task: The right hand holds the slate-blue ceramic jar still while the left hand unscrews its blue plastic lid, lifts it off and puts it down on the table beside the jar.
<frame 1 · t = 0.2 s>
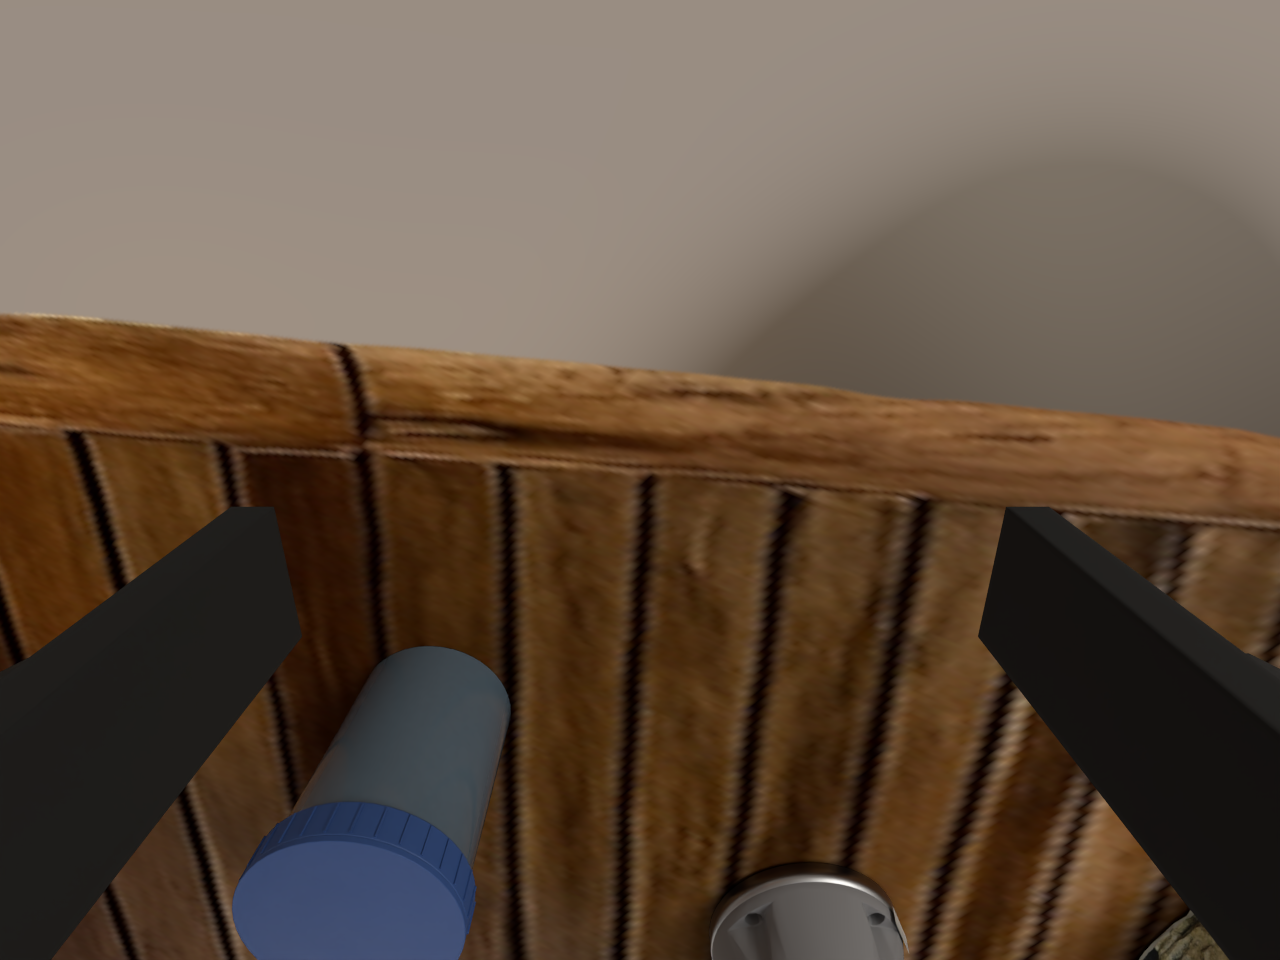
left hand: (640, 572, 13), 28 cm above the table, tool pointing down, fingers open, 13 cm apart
fossil: (1202, 933, 57), on the table
jar: (437, 707, 49), on the table
lid: (352, 918, 34), point 15 cm above the table, screwed on, not yet turned
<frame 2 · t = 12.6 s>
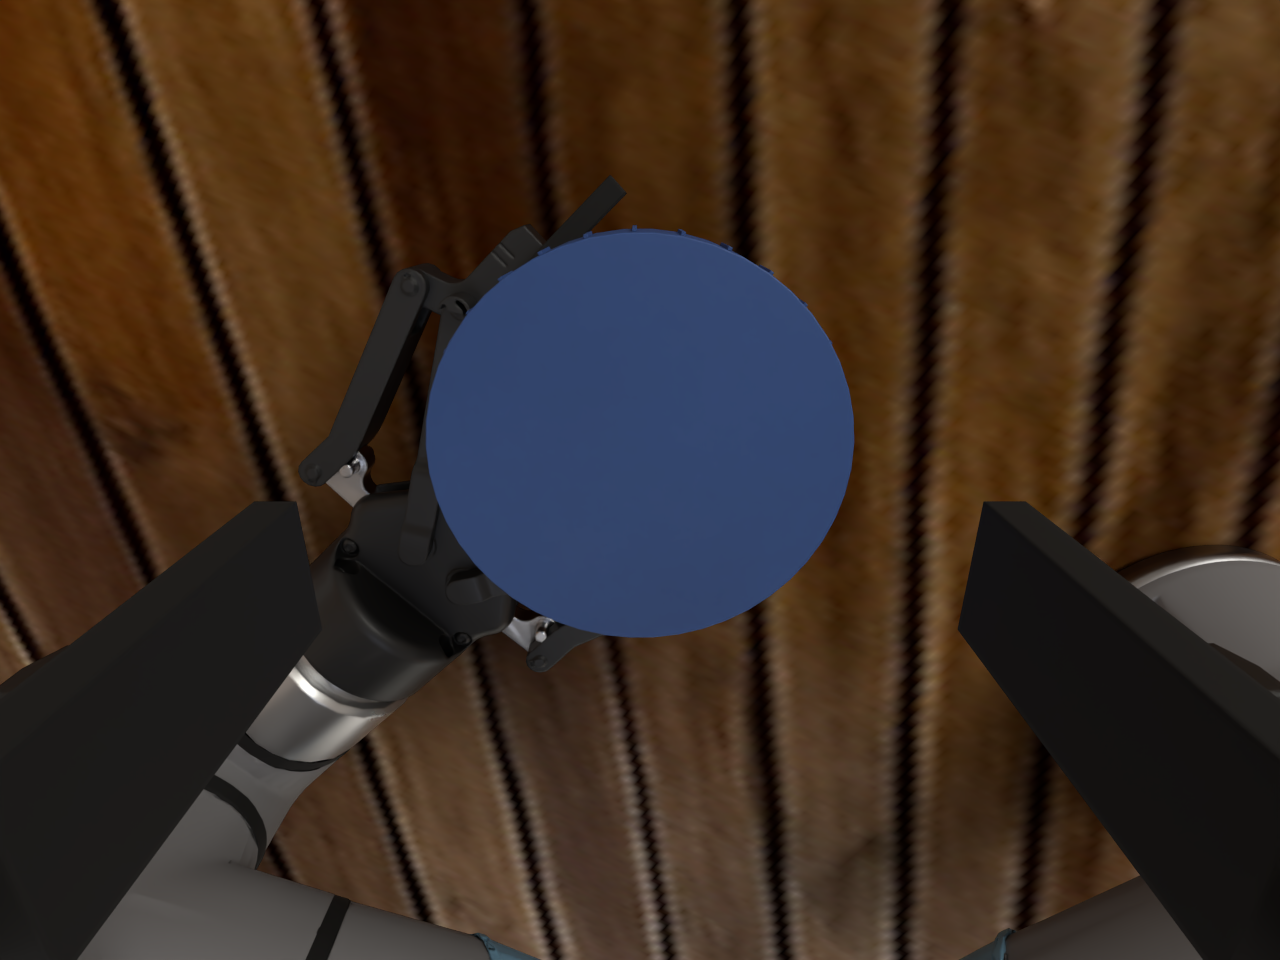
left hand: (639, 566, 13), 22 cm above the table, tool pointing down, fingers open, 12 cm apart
right hand: (719, 299, 26), fingers closed on jar, 10 cm apart
lid: (639, 454, 19), point 15 cm above the table, screwed on, not yet turned
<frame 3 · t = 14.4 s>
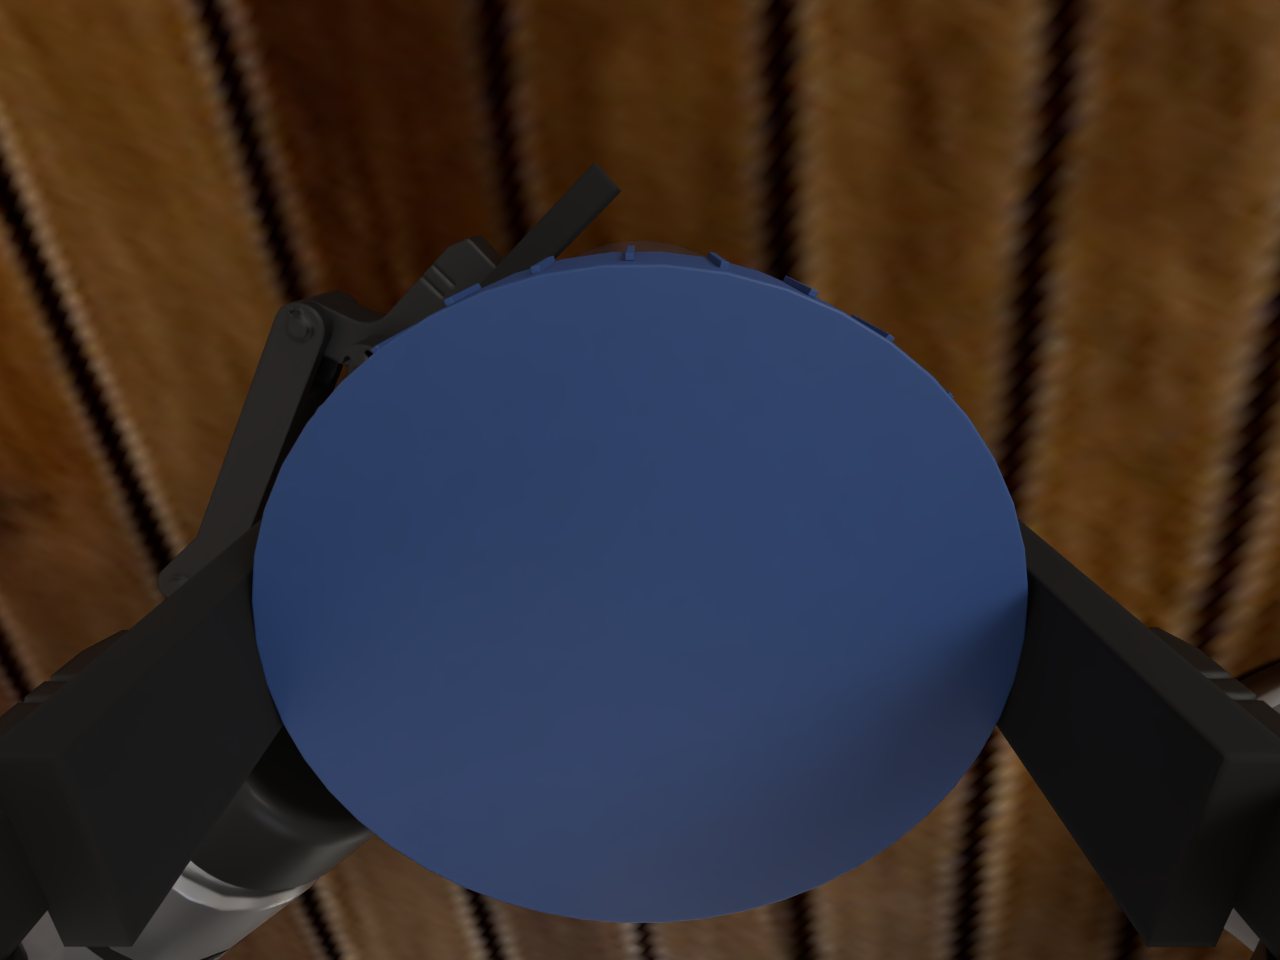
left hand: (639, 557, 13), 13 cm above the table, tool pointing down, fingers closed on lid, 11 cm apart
jar: (640, 391, 25), on the table, touching right hand
lid: (639, 647, 11), point 15 cm above the table, screwed on, not yet turned, touching left hand
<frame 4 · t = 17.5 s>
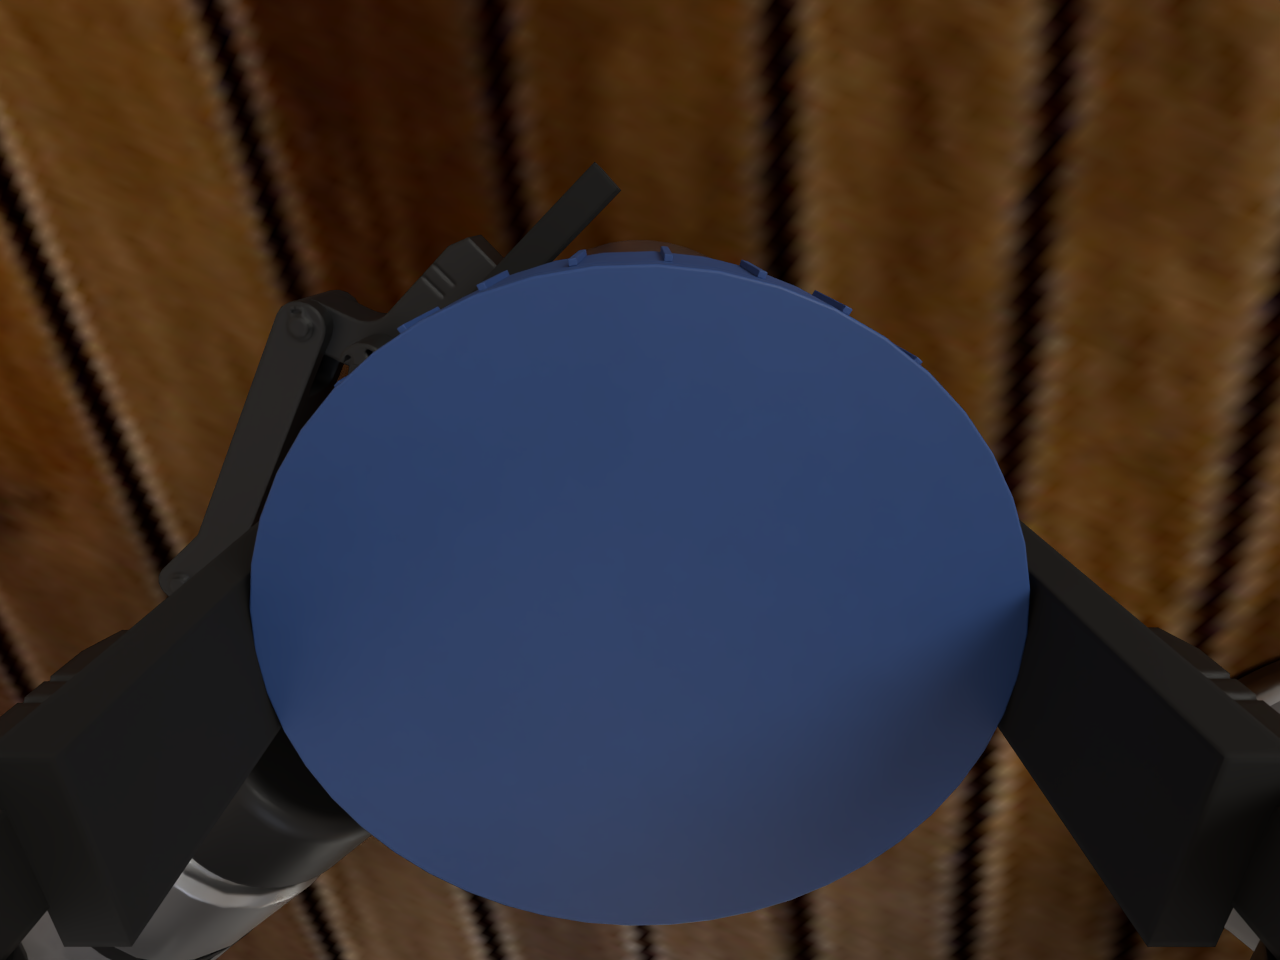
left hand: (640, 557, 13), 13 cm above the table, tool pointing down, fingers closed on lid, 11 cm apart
jar: (639, 390, 25), on the table, touching right hand
lid: (639, 649, 11), point 16 cm above the table, turned 91° so far, risen 0.1 cm, still on its thread, touching left hand
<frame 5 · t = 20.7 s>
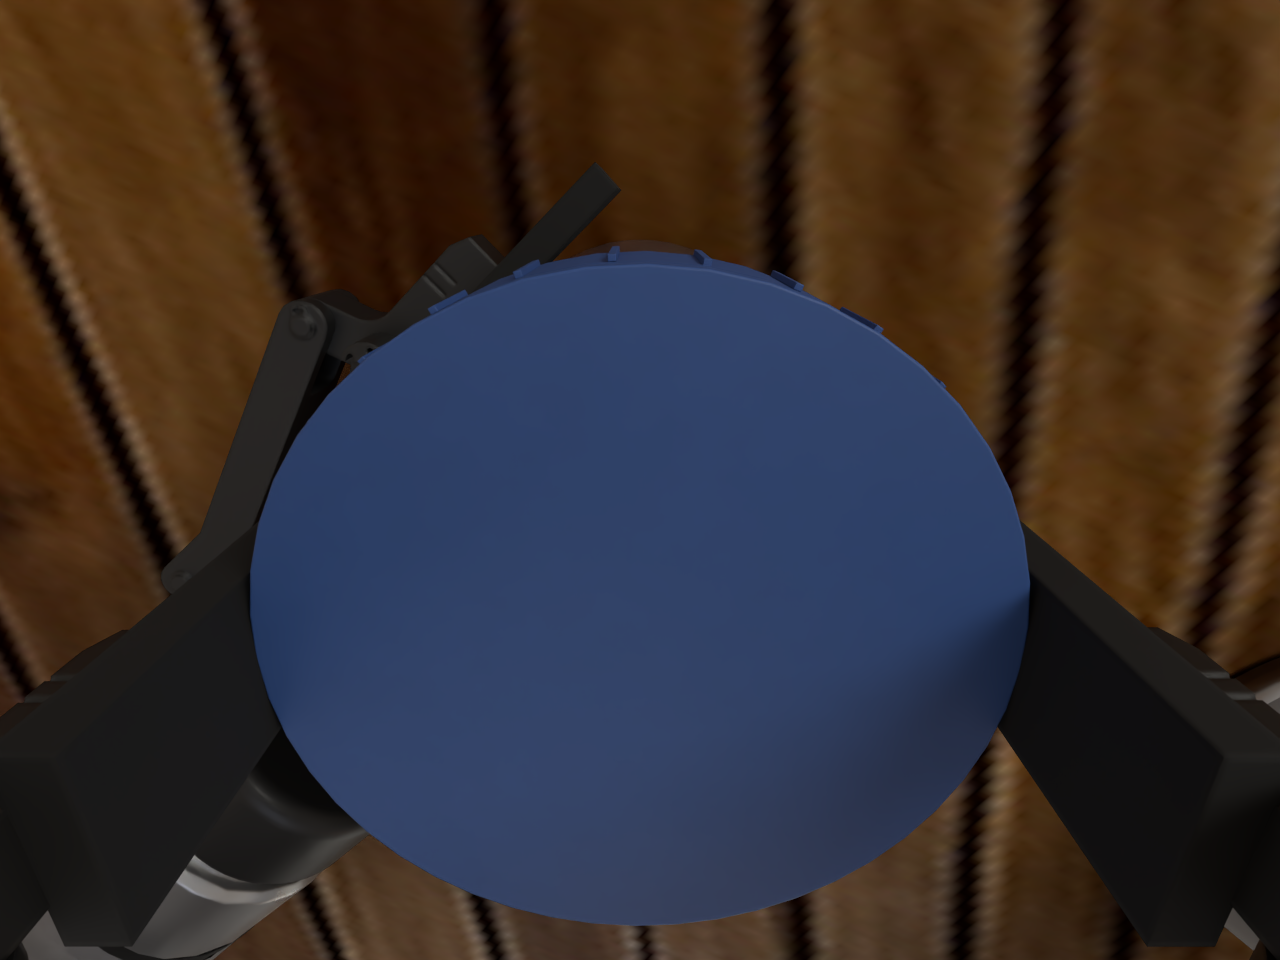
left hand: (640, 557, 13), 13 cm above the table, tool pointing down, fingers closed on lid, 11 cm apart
jar: (639, 389, 25), on the table, touching right hand
lid: (639, 649, 11), point 16 cm above the table, turned 182° so far, risen 0.2 cm, still on its thread, touching left hand
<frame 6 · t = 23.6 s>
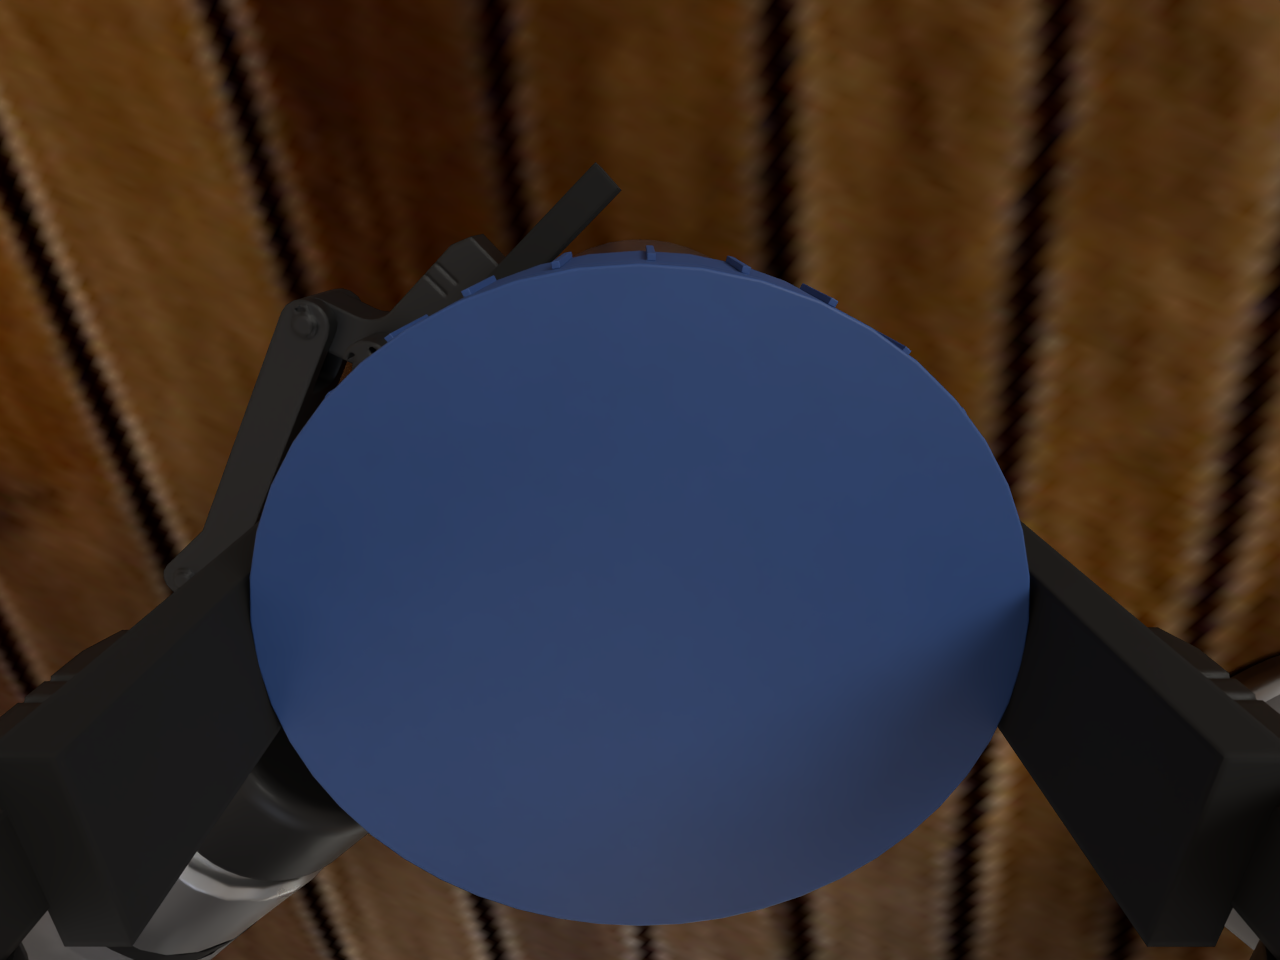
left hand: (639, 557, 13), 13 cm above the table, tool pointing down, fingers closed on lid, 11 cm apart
jar: (639, 388, 25), on the table, touching right hand
lid: (639, 649, 11), point 16 cm above the table, turned 273° so far, risen 0.4 cm, still on its thread, touching left hand
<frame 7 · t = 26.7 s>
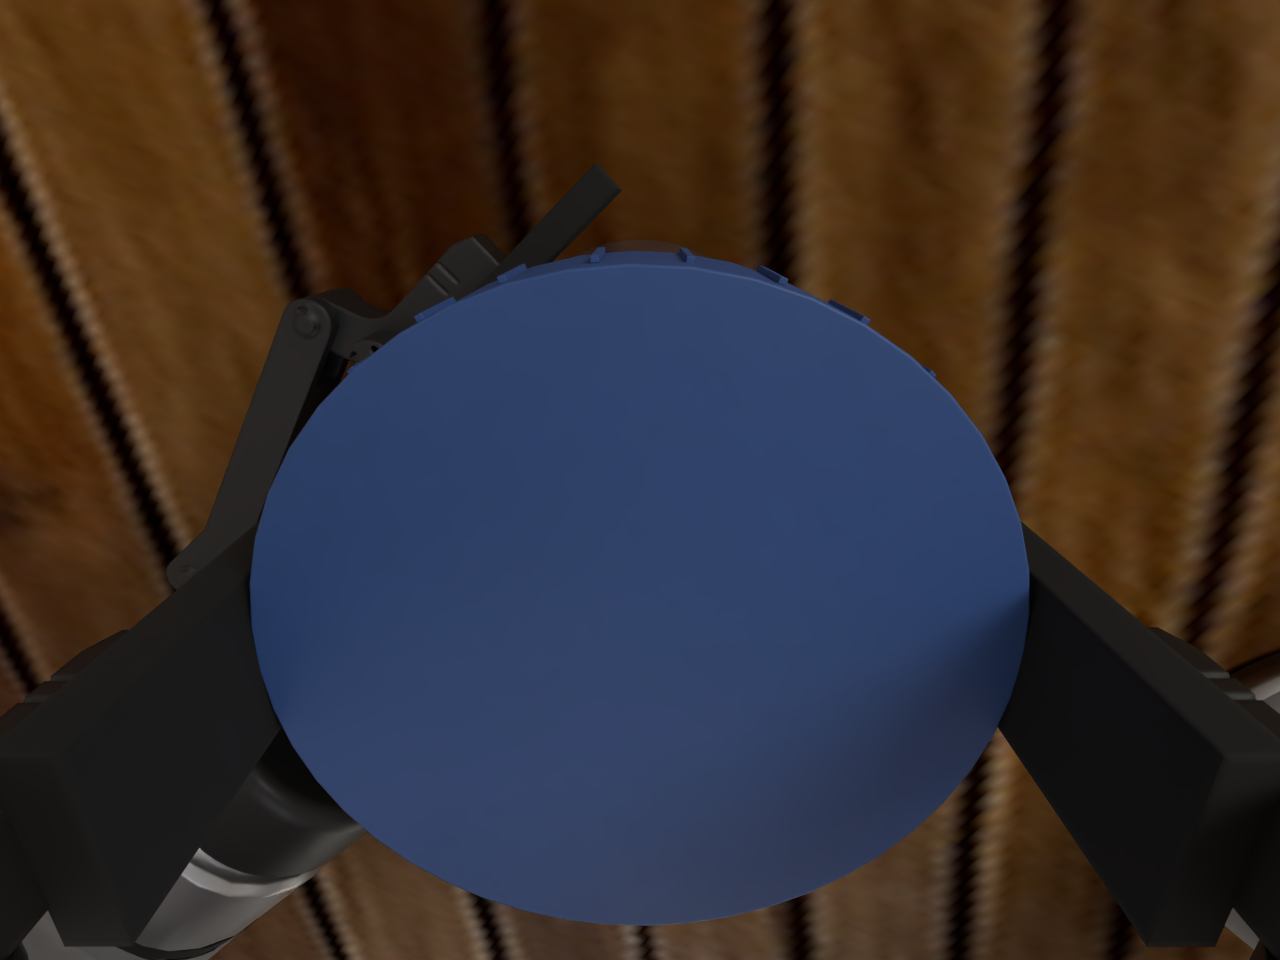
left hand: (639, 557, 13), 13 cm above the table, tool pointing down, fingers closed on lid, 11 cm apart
jar: (639, 388, 25), on the table, touching right hand
lid: (639, 649, 11), point 16 cm above the table, turned 364° so far, risen 0.5 cm, still on its thread, touching left hand
when the left hand's fingers open (0 cm above the table, at t = 33.8 s): lid drops 1 cm, point 2 cm above the table.
when the right hand's fingers open (6 cm above the table, at t = 34.8 s): jar stays where it is, on the table.
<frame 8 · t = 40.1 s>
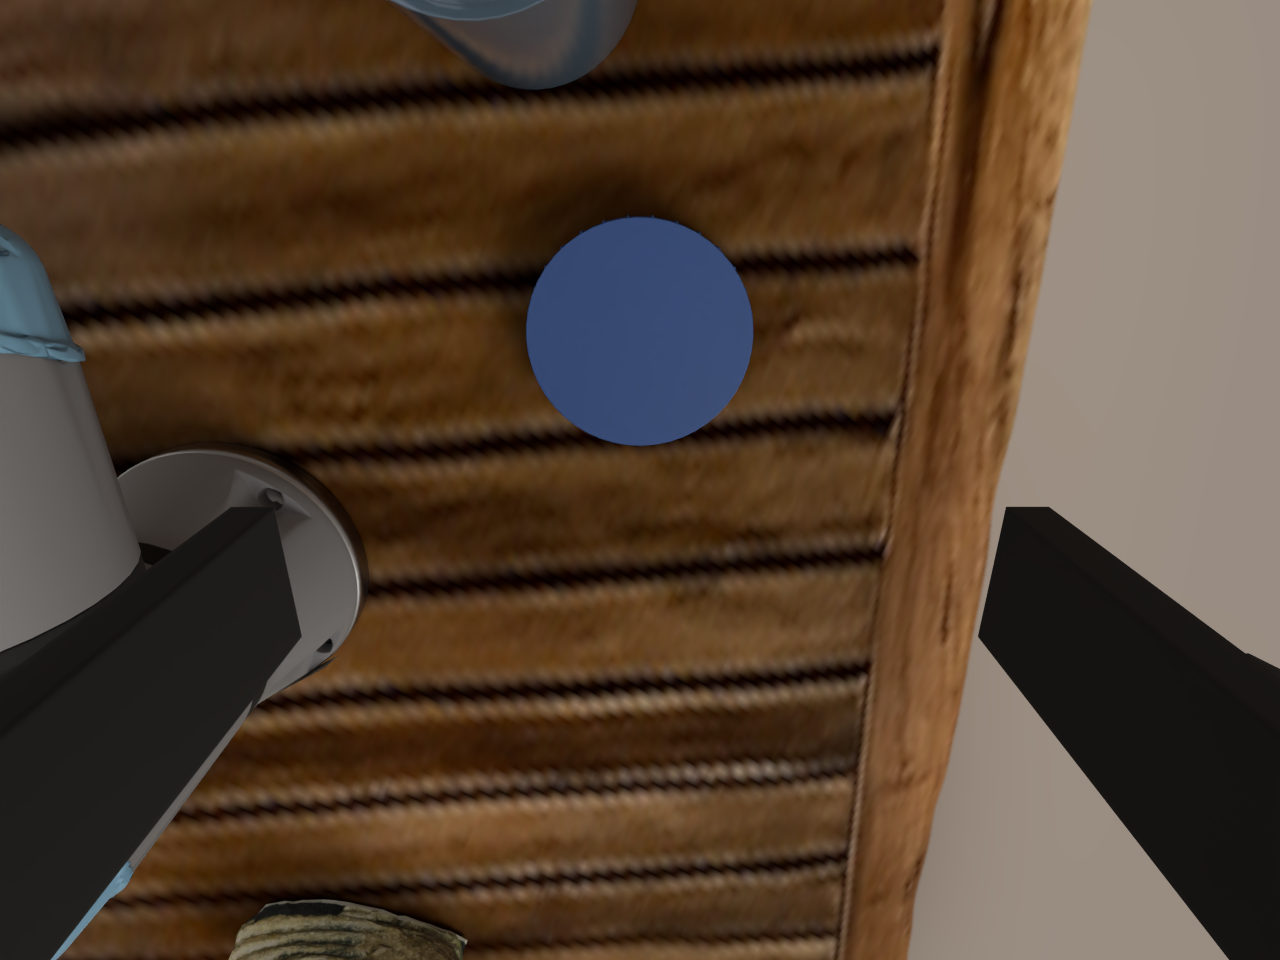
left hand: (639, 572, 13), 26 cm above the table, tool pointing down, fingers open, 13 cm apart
fossil: (374, 934, 54), on the table
lid: (639, 337, 35), point 2 cm above the table, off its thread
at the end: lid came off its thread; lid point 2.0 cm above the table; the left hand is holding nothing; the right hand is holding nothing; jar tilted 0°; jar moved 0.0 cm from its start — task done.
